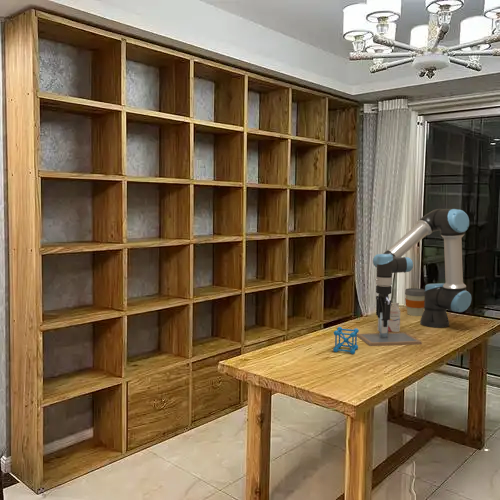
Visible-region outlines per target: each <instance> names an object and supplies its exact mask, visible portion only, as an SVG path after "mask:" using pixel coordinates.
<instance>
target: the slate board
mask: <svg viewBox="0 0 500 500" xmlns="http://www.w3.org/2000/svg"><path fill="white" fill-rule="evenodd" d="M357 337H358V338H359V339H360V340H362V342H364V343H365V344H367V345H368V346H369V347H379V346H405V345H406V346H408V345H409V346H410V345H422V344H423V341H421V340H419V339H417V338H416V337H414V336H412V335H411V334H410V333H407V332H406V331H405V332H403V331H402V332H400V331H399V332H388V337H387V338H382V337H380V332H377V333H369V332H368V333H357Z"/></svg>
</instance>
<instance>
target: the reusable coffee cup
mask: <svg viewBox="0 0 500 500" xmlns="http://www.w3.org/2000/svg"><path fill="white" fill-rule="evenodd" d="M404 294H405V299H404V301H405V307H406V312H407V313H406V314H407V315H409V316H412V317H422V314H423V312H424V297H425V288H417V287H415V288H413V287H412V288H411V287H410V288H409V287H408V288H406V289H405V291H404Z"/></svg>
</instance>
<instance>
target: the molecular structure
mask: <svg viewBox="0 0 500 500" xmlns="http://www.w3.org/2000/svg"><path fill="white" fill-rule="evenodd" d="M343 331H345V332H343ZM347 332H348V333H347ZM349 332H350V333H349ZM359 332H360V331H359V328H357V327H356V328H353V329H348V328H343V327H342V326H338V327H337V330H336V329H335V330H334V331H333V335H334V339H335V340H334V347H333V349H332V351H333V352H335V353H337V352H339V351H340V352H346V353H347V352H348V353H350V354H352V355H354V354H355V353H356V350H358V349H359V345H358V342H357V341H358V340H357V339H358V338H357V334H359ZM346 336H348V337H346ZM351 338H352V339H351ZM341 339H342V340H343V341H341ZM350 339H351V341H350ZM345 344H347V345H345ZM342 347H344V348H349V349H350V350H349V349H341V348H342Z"/></svg>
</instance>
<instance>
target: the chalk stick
mask: <svg viewBox="0 0 500 500" xmlns="http://www.w3.org/2000/svg"><path fill="white" fill-rule="evenodd" d="M381 319H383V315H382V312H380V331H379V333H380V337H382V338H387V337H388V333H389V331H388V323H387V333H381V328H382V320H381Z"/></svg>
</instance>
